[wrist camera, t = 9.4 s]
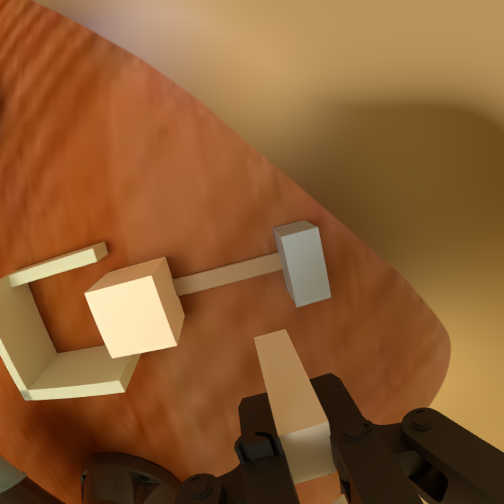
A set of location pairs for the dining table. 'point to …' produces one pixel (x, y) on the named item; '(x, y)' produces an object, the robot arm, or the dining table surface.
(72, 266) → the shelf lane
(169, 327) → the tethered block
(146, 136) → the dining table surface
